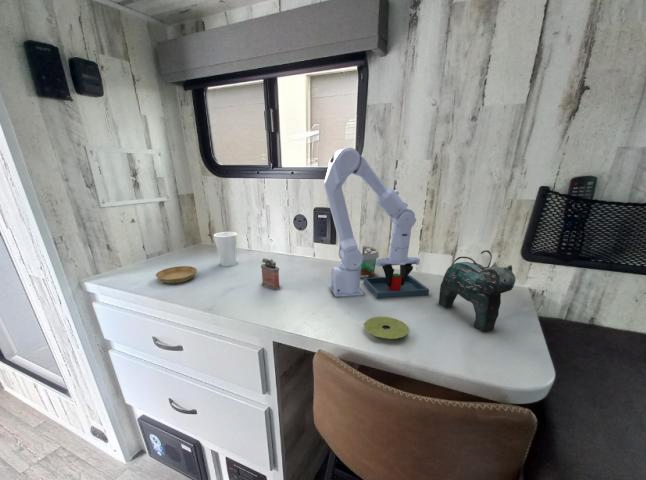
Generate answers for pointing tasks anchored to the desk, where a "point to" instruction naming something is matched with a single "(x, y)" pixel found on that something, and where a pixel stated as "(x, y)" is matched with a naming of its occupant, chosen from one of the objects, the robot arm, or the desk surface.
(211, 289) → the desk surface
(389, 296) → the tray
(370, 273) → the food container
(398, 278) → the strawberry
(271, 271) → the lighter
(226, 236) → the foam cup
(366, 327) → the green disc
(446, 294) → the ceramic cat
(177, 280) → the plant saucer
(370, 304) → the desk surface
